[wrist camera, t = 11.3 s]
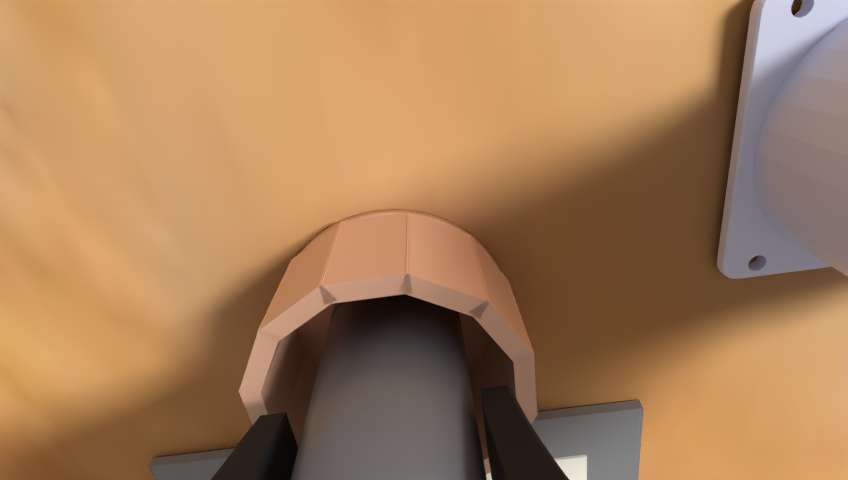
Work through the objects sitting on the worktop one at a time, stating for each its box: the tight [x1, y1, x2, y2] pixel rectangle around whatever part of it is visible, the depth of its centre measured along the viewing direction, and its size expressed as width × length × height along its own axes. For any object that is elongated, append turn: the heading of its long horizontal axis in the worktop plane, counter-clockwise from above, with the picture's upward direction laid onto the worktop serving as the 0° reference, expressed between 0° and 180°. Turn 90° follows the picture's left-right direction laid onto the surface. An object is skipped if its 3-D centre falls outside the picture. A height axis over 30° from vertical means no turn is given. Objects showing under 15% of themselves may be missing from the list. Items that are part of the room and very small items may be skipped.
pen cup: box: [238, 209, 538, 475], centre depth 14 cm, size 7×7×4 cm
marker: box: [291, 294, 487, 480], centre depth 11 cm, size 4×4×10 cm
